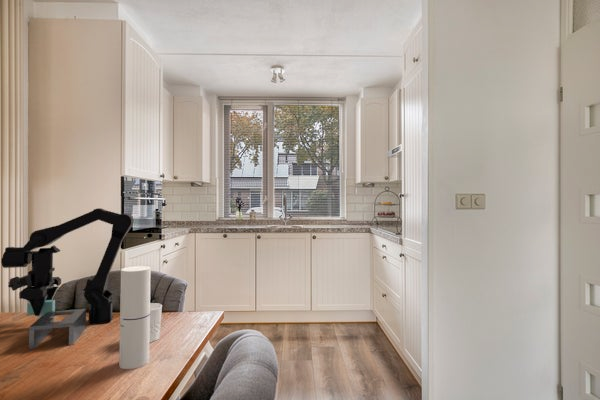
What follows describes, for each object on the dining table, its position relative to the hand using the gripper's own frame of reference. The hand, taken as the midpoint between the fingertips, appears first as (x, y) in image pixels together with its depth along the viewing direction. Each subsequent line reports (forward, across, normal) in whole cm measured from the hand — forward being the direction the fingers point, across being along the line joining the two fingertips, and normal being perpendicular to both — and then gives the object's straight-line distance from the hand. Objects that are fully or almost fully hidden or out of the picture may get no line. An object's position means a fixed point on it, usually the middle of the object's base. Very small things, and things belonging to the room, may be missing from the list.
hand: (41, 312), depth 115 cm
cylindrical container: (+5, +38, +33) cm, 51 cm away
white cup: (+5, +22, +35) cm, 42 cm away
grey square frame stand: (+5, +13, +9) cm, 17 cm away
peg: (+5, 0, 0) cm, 5 cm away
